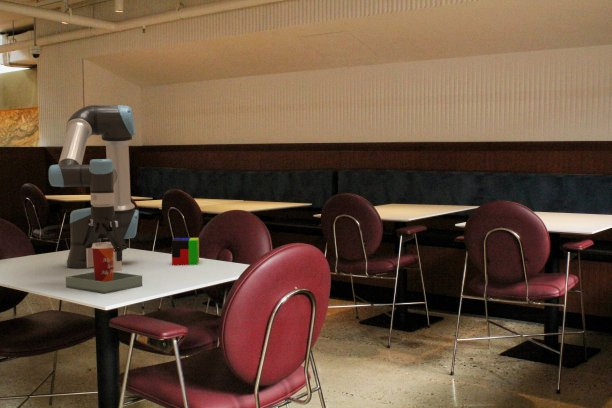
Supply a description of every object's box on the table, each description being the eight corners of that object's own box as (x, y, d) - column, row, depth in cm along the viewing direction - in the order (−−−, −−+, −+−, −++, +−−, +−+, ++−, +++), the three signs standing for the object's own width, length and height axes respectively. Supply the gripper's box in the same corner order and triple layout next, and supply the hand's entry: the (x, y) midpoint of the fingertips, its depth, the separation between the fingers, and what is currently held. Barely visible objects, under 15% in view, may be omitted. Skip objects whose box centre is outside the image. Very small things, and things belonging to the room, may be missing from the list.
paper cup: (109, 287, 223) (108, 244, 222) (87, 286, 225) (86, 244, 224) (120, 283, 231) (119, 241, 230) (99, 282, 233) (98, 241, 232)
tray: (66, 287, 227) (65, 276, 227) (103, 280, 240) (103, 270, 240) (105, 293, 216) (104, 282, 216) (142, 285, 229) (142, 275, 229)
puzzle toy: (174, 262, 283) (174, 238, 282) (199, 261, 284) (198, 237, 283) (172, 265, 273) (171, 240, 272) (197, 265, 274) (196, 240, 273)
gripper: (69, 204, 230) (70, 267, 232) (118, 207, 216) (120, 274, 218) (87, 203, 236) (89, 264, 238) (137, 206, 222) (138, 270, 224)
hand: (104, 269), depth 228 cm, fingers open, 13 cm apart
